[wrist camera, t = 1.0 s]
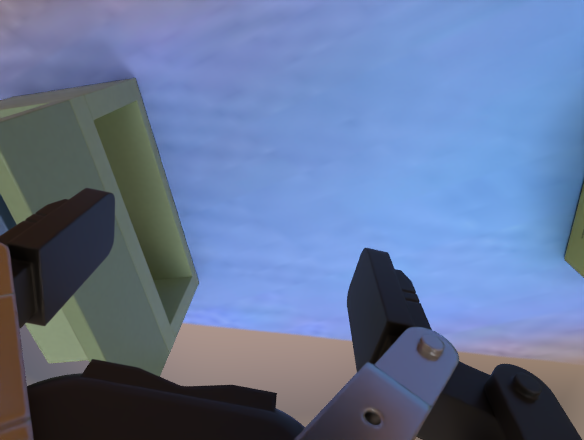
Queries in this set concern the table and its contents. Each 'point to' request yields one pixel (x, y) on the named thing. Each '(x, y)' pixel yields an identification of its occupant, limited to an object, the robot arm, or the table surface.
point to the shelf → (128, 219)
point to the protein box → (577, 239)
